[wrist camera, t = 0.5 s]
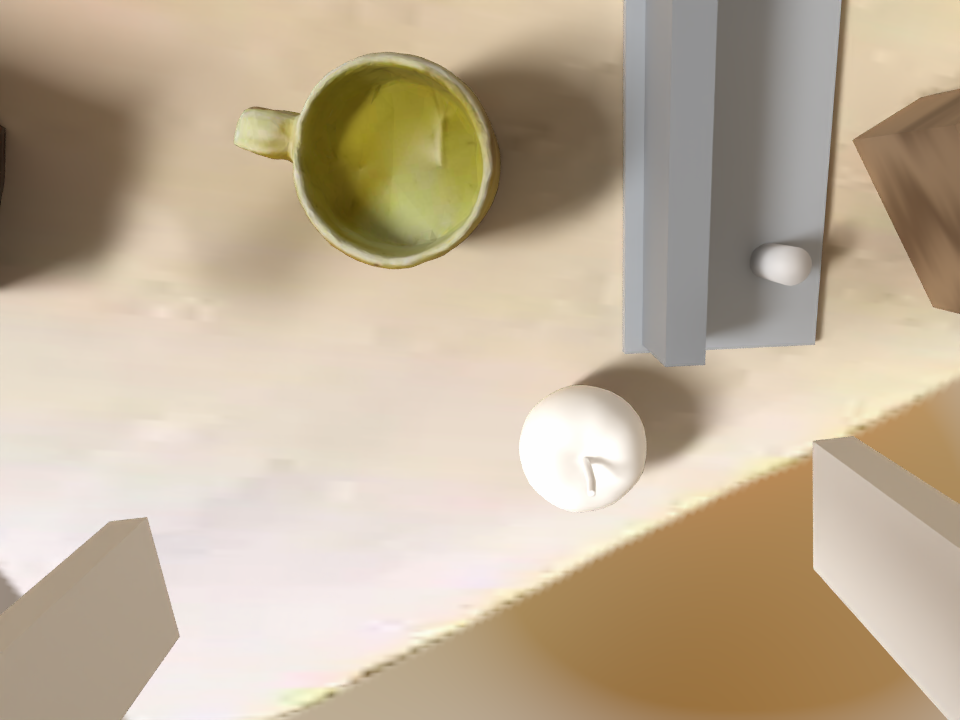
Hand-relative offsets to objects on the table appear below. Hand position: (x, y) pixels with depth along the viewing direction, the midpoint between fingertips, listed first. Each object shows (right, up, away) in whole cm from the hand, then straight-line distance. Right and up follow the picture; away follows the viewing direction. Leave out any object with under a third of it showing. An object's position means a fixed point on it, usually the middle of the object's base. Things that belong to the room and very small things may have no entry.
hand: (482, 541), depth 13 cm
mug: (-5, +15, +23) cm, 28 cm away
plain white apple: (+6, 0, +27) cm, 28 cm away
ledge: (+13, +16, +22) cm, 31 cm away
